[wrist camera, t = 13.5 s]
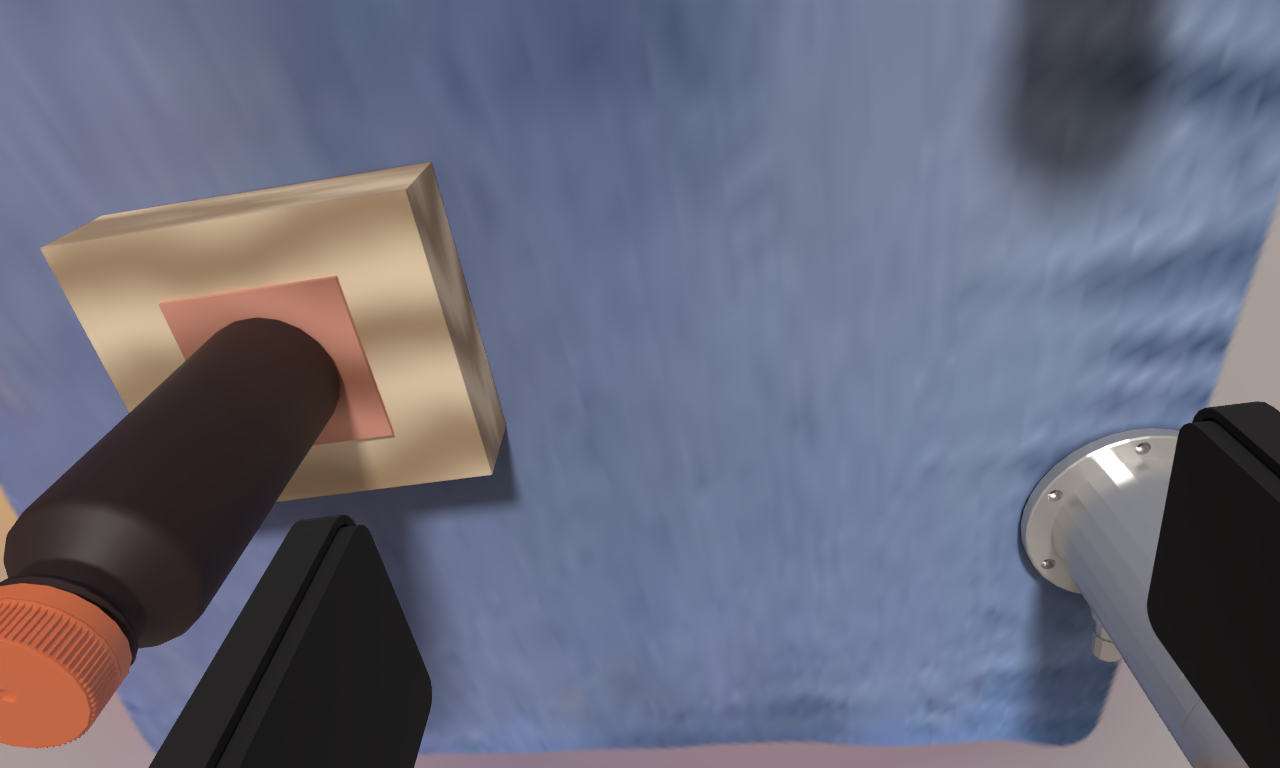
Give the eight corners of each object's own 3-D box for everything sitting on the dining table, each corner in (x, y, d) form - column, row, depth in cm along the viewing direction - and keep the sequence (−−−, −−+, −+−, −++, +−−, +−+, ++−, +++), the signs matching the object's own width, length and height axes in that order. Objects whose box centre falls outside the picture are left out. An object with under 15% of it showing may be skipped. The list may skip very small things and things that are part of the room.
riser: (506, 425, 49) (491, 477, 45) (224, 463, 51) (181, 516, 46) (431, 161, 42) (403, 192, 37) (101, 215, 43) (36, 250, 39)
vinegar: (266, 288, 40) (-37, 572, 22) (370, 386, 42) (172, 711, 25) (179, 364, 42) (-163, 679, 24) (283, 453, 44) (42, 797, 27)
